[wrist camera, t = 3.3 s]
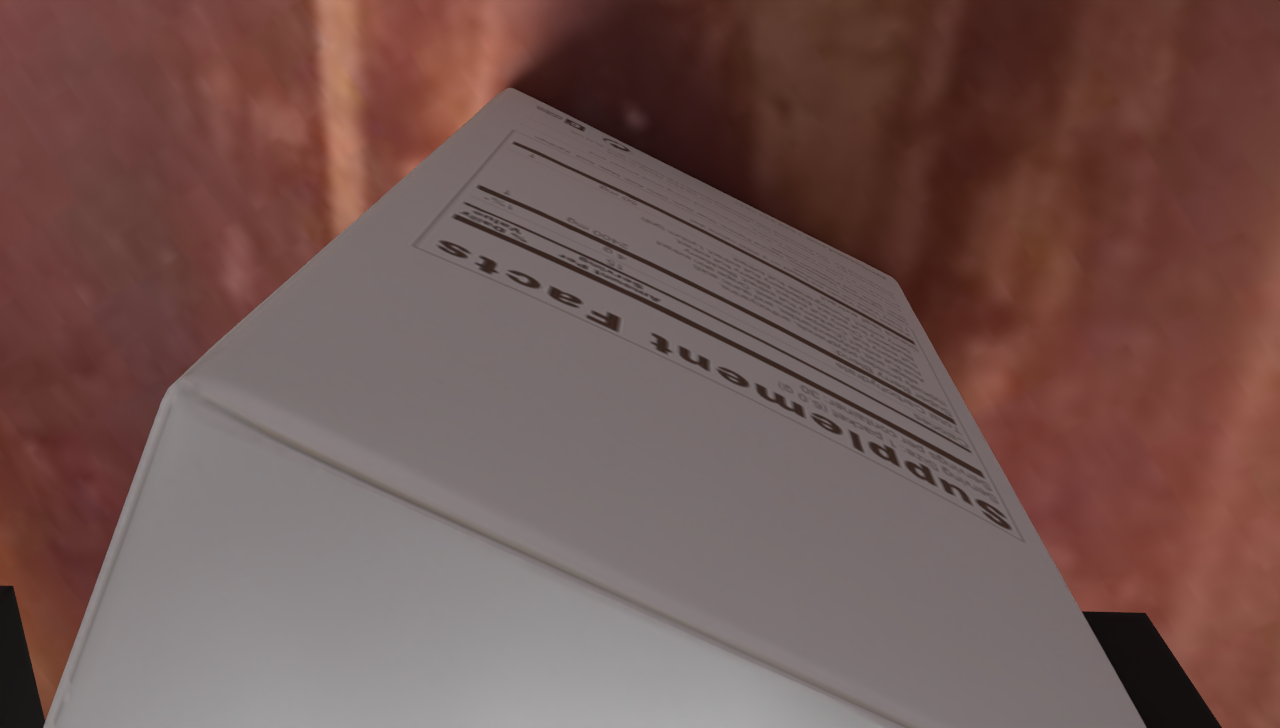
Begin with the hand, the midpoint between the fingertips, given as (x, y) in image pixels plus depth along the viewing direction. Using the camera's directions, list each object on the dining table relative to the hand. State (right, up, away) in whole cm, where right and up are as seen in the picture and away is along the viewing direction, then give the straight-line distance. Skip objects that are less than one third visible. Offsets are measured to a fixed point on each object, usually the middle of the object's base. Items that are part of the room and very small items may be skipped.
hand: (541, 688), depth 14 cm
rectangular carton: (+1, +4, +9) cm, 10 cm away
